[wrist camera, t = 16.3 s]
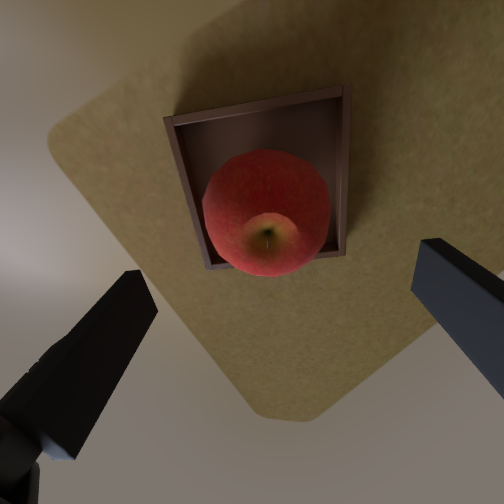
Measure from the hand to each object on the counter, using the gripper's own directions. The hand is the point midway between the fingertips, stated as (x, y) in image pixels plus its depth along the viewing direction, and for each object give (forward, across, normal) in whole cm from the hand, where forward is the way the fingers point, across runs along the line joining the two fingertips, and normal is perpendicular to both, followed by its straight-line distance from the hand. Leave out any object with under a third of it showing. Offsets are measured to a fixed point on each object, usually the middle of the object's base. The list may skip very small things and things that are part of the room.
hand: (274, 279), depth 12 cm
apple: (+17, 0, 0) cm, 17 cm away
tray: (+17, 0, 0) cm, 17 cm away
